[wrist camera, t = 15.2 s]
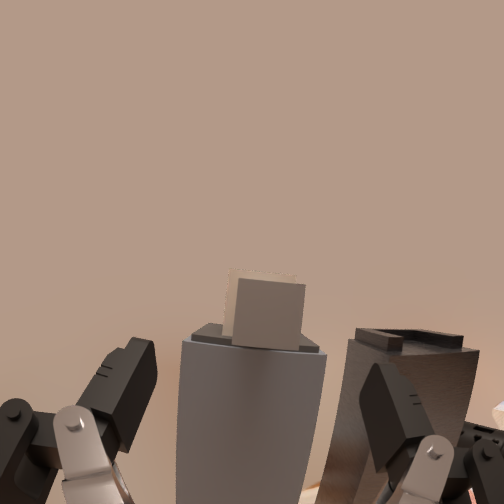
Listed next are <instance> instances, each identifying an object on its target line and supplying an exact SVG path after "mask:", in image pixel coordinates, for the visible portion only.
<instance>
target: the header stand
mask: <svg viewBox="0 0 504 504" xmlns="http://www.w3.org/2000/svg"><path fill="white" fill-rule="evenodd" d="M463 337H464V336H462V335H455V334H447V333H441V332H435V331H428V330H417V329H404V330H403V329H365V328H356V332H355V339H349V340H348V347H347V355H346V363H345V369H344V375H343V381H342V388H341V393H340V400H339V404H338V410H337V415H336V420H335V425H334V430H333V434H332V439H331V444H330V448H329V452H328V456H327V460H326V465H325V468H324V472H323V476H322V480H321V483H320V487H319V490H318V494H317V497H316V501H315V504H372V503H373V502H374V500H375V498H376V497H377V495H378V493H379V492H380V490H381V488H382V486H383V485H384V483H385V481H386V480H387V479H388V478H389V477H388V473H387V472H386V473H379V474H376V470H375V466H374V461H373V457H372V453H371V449H370V445H369V440H368V436H367V432H366V429H365V425H364V421H363V417H362V413H361V409H360V406H359V395H360V391H361V389H362V387H363V385H364V382H365V380H366V378H367V376H368V374H369V371H370V369H371V367H372V365H373V364H374V363H394V364H395V365H396V367H397V369H398V372H399V374H400V376H401V375H404V376H405V377H406V378H407V379H408V380H409V381H410V382H411V383H412V384H413V385H414V387H415V390H416V392H417V394H418V395H417V396H419V398H420V400H421V405H423V407H424V409H425V411H426V414H427V416H428V418H429V421H430V423H431V425H432V428H433V430H434V432H435V434H436V435H440V436H442V437H445V438H446V439H447V440H448V441H449V442H450V443H451V444H452V446H453V447H456V446H457V443H458V440H459V437H460V434H461V431H462V428H463V424H464V421H465V417H466V414H467V410H468V406H469V402H470V398H471V394H472V389H473V385H474V380H475V375H476V370H477V364H478V358H479V352H480V351H479V350H475V349H470V348H464V347H462V344H463Z"/></svg>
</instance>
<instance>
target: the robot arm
mask: <svg viewBox="0 0 504 504" xmlns="http://www.w3.org/2000/svg"><path fill="white" fill-rule="evenodd" d="M156 382H157V365H156V356H155V348H154V343H153V341H150V340H146V339H141V338H136V337H132V338H131V339H130V341H129V343H128V344H127V346H126V347H125V349H122V348H117V349H115V350H114V351H112V352H111V353H109V354H108V355H107V356H106V358H105V359H104V361H103V362H102V364H101V367H99V369H98V370H97V372H96V375H94V376H93V378H92V380H91V381H90V383H89V384H88V386H87V388H86V389H85V391H84V392H83V394H82V396H81V397H80V399H79V400H78V402H77V403H76V405H72V406H67V407H65V408H62V409H61V410H60V411H59V412H58V413H57V414H53V413H44V412H36V411H33V410H32V408H31V406H30V405H29V404H28V402H26V401H25V400H23V399H18V398H14V399H10V400H8V401H6V402H5V403H3V404H2V406H1V407H0V504H45V503H46V500H47V498H48V495H49V492H50V490H51V487H52V485H53V482H54V479H55V477H56V475H57V472H58V470H59V469H63V472H64V475H65V480H62V490H63V493H64V497H65V500H66V503H67V504H135V503H134V502H133V500H132V498H131V495H130V493H129V491H128V489H127V487H126V485H125V482H124V480H123V478H122V475H121V473H120V471H119V468H118V466H117V463H116V462H115V457H116V455H117V452H118V451H121V452H125V453H129V450H130V447H131V445H132V442H133V440H134V437H135V435H136V432H137V430H138V427H139V425H140V422H141V420H142V417H143V415H144V412H145V410H146V407H147V405H148V403H149V400H150V397H151V395H152V392H153V390H154V388H155V385H156ZM417 395H418V394H417V392H416V390H415V387H414V385H413V384H412V383H411V382H410V381H409V380H408V379H407V378H406V377H405V376H404V375H401V376H400V374H399V372H398V369H397V367H396V365H395V364H394V363H374V364H373V365H372V367H371V369H370V371H369V374H368V376H367V378H366V380H365V382H364V385H363V387H362V389H361V391H360V395H359V406H360V409H361V413H362V417H363V421H364V425H365V429H366V432H367V436H368V440H369V445H370V449H371V453H372V457H373V461H374V466H375V470H376V474H379V473H386V472H387V473H388V477H389V478H388V479H387V480H386V481H385V483H384V485H383V486H382V488H381V490H380V492H379V493H378V495H377V497H376V498H375V500H374V502H373V503H372V504H472V502H471V499H470V495H469V492H468V490H469V489H470V488H472V489H473V492H474V496H475V499H476V503H477V504H504V459H503V457H502V455H501V452H500V450H499V448H498V446H497V445H496V444H495V443H494V442H493V441H491V440H488V439H481V440H478V441H477V442H476V443H475V444H474V445H473V446H472V447H471V448H460V447H453V446H452V444H451V443H450V442H449V441H448V440H447V439H446V438H445V437H442V436H440V435H436V434H435V432H434V430H433V428H432V425H431V423H430V421H429V418H428V416H427V414H426V411H425V409H424V407H423V405H421V400H420V398H419V396H417Z"/></svg>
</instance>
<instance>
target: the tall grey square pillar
mask: <svg viewBox="0 0 504 504" xmlns="http://www.w3.org/2000/svg"><path fill="white" fill-rule="evenodd" d="M222 330H223V325H221V324H213V323H208V324H206V325H205V326H203V327H202V328H200V329H199V330H197V331H196V332H194V333H192V335H191V336H189V337H188V338H186V339H185V340H183V341H182V352H181V353H182V354H181V365H180V380H179V396H178V415H177V442H176V504H298V501H299V498H300V494H301V490H302V485H303V482H304V477H305V474H306V469H307V465H308V460H309V456H310V451H311V446H312V442H313V437H314V432H315V427H316V421H317V416H318V410H319V405H320V399H321V393H322V387H323V380H324V374H325V367H326V360H327V354H325V353H324V352H322V351H321V350H320V349H319V346H318V345H317V344H315V343H314V342H312V341H311V340H310V339H308V338H307V337H305V336H304V335H303V334H301V335H300V343H299V351H296V350H282V349H270V348H259V347H249V346H239V345H232V336H224V335H222Z"/></svg>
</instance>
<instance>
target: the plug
mask: <svg viewBox="0 0 504 504" xmlns="http://www.w3.org/2000/svg"><path fill="white" fill-rule="evenodd" d="M305 286H306V285H304V284H296V275H289V274H279V273H269V272H259V271H250V270H240V269H231V268H230V269H229V274H228V283H227V292H226V302H225V311H224V321H223V330H222V335H224V336H232V345H239V346H249V347H259V348H270V349H282V350H296V351H299V343H300V335H301V326H302V316H303V307H304V296H305Z"/></svg>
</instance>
